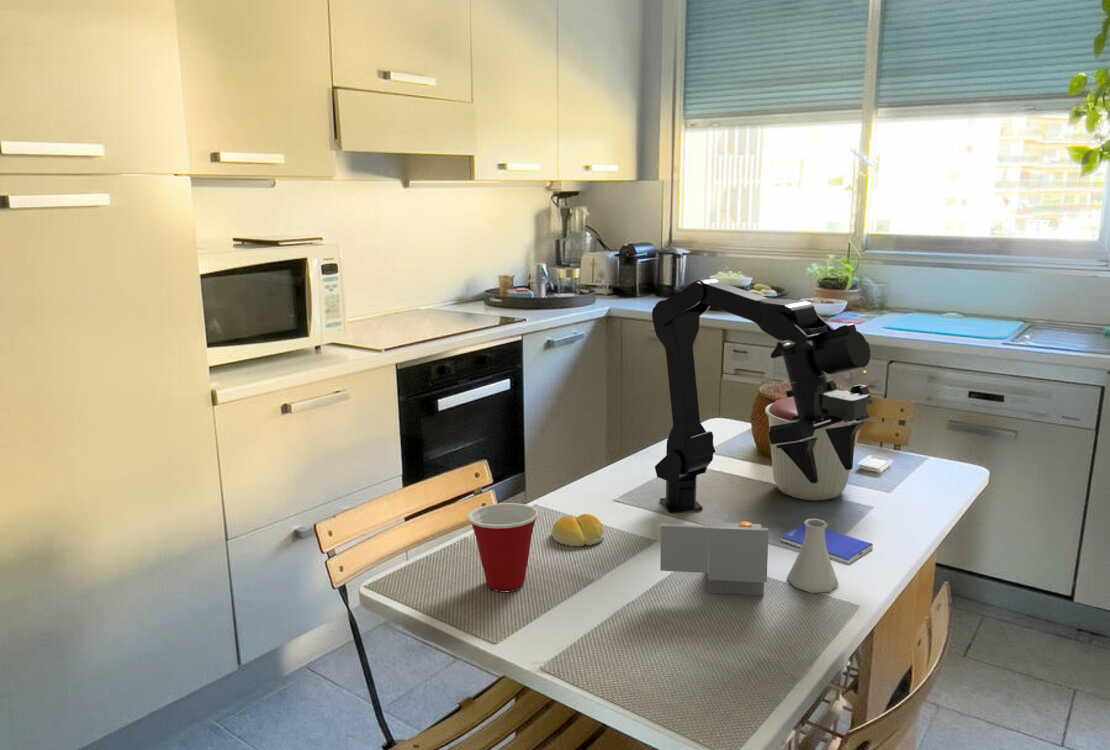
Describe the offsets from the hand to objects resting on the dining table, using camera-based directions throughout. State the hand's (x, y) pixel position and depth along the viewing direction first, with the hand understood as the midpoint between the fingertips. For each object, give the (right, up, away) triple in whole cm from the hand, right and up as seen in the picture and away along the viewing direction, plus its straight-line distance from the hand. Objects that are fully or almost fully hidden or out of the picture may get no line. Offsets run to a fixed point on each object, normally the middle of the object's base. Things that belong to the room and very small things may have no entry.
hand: (832, 476), depth 133 cm
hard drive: (+2, -14, +11) cm, 17 cm away
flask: (-4, -16, -3) cm, 17 cm away
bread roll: (-39, -13, +15) cm, 44 cm away
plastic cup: (-51, -17, -1) cm, 54 cm away
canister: (+7, -7, +34) cm, 35 cm away
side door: (-20, -14, -7) cm, 26 cm away
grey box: (-16, -16, -2) cm, 23 cm away
